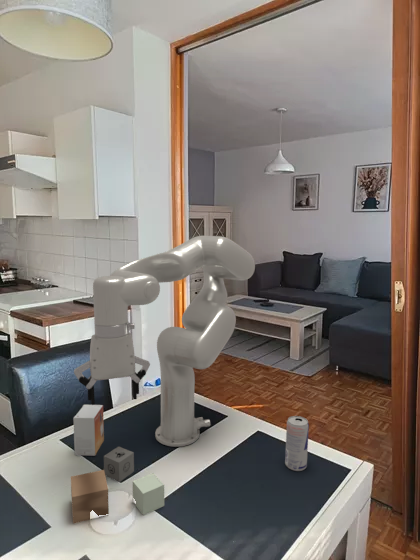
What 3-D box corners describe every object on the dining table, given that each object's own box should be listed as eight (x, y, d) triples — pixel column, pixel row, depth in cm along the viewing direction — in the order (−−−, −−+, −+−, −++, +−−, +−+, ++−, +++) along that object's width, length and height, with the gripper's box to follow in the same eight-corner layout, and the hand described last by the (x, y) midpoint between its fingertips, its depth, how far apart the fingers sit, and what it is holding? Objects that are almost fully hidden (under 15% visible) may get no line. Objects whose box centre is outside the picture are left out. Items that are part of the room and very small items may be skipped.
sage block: (153, 493, 90) (153, 472, 89) (164, 506, 86) (164, 484, 85) (132, 502, 87) (132, 481, 86) (143, 515, 83) (143, 493, 82)
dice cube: (119, 482, 94) (118, 462, 93) (104, 475, 96) (103, 456, 96) (134, 471, 98) (133, 452, 97) (119, 464, 100) (118, 446, 100)
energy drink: (308, 462, 102) (310, 418, 101) (304, 474, 98) (306, 427, 96) (287, 457, 105) (289, 413, 103) (282, 468, 100) (284, 423, 98)
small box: (95, 456, 104) (94, 418, 102) (74, 455, 104) (72, 417, 103) (104, 440, 112) (103, 404, 110) (84, 439, 112) (83, 403, 110)
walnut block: (104, 494, 90) (104, 469, 89) (108, 515, 83) (108, 489, 82) (71, 501, 87) (70, 476, 86) (73, 524, 80) (72, 497, 80)
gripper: (146, 323, 98) (147, 388, 101) (72, 328, 93) (75, 398, 96) (151, 331, 91) (153, 401, 94) (71, 337, 86) (75, 412, 89)
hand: (113, 399), depth 95 cm, fingers open, 9 cm apart
